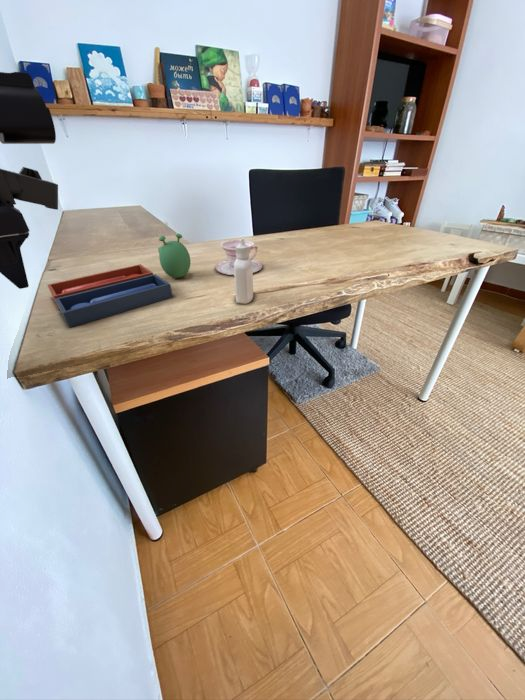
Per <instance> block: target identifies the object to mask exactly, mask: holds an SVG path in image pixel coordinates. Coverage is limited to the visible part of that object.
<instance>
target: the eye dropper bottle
mask: <svg viewBox="0 0 525 700" xmlns="http://www.w3.org/2000/svg"><path fill="white" fill-rule="evenodd" d="M239 240H240V243H239V245H237V246H236V257H237V259H236V260H235V262H234V275H233V276H234V291H235V301H236V303H237V304H245V305H246V304H249V303H250V302H251V301H252V300H253V298H254V273H253V269H252V260H251V257H250V253H249V246H248V245H246V244H245V242H244V240H245V239H244V237H243V238H239Z"/></svg>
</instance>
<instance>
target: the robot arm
mask: <svg viewBox="0 0 525 700" xmlns="http://www.w3.org/2000/svg"><path fill="white" fill-rule="evenodd" d="M56 141H57V134H56V128H55V124H54V120H53V116H52V113H51V111H50V108H49V107H48V106H47V105H46V102H45V100H44V98H43V96H42V94H41V93H40V91H39V90H38V88H37V87H36V86H35V84H34V81H33V78H32V76H31V74H29V72H23V71H13V72H4V71H0V143H1V144H2V145H20V144H21V145H23V144H24V145H27V144H28V145H37V144H41V145H43V144H45V145H49V144H50V145H53V144H55V143H56ZM16 201H21V202H25V203H29V204H30V203H31V204H35V205H40V206H44V207H45V208H46V209H51V210H56V211H57V210H59V184H57V183H56V182H52V181H49V180H45V179H43V178H42V176H41V174H40V173H39V171H38V170H37V169H32V168H30V167H25V166H22V167H21V169H20V171H18V172H15V171H12V170H7V169H3V168H0V274H1V275H2V276H4V277H5V278H6V279H7V280H8V281H9V282H10V283H12V284H13V285H14V286H15V287H16V288H17V289H19V290H23V289H26V288H29V281H28V276H27V273H26V268H25V263H24V260H23V255H22V250H21V248H22V245H24V242H25V241H26V239H28V238H29V236H30V228H29V226H28V224H27V222H26V219H25V217H24V215H23V213H22V212H21V211H20V209H18V208H17V207H15V206H16V205H17V202H16Z"/></svg>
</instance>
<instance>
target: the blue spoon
mask: <svg viewBox="0 0 525 700" xmlns="http://www.w3.org/2000/svg"><path fill="white" fill-rule="evenodd" d="M154 287H157V285H156V284H149V285H145V286H141V287H137V288H133V289H129V290H126V291H122V292H118V293H114V294H110V295H106V296H103V297H99V298H95V299H92V300H91V301H90V303H80V304H76V305H74V306H72V307H71V309H70V310H72V309H75V308H79V307H83V306H87V305H90V304H94V303H98V302H101V301H105V300H109V299H113V298H116V297H120V296H124V295H127V294H131V293H135V292H139V291H142V290H146V289H150V288H154Z"/></svg>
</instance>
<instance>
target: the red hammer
mask: <svg viewBox="0 0 525 700" xmlns="http://www.w3.org/2000/svg"><path fill="white" fill-rule="evenodd" d="M137 275H141V274H133V275H129V276H127V277H126V276H119V277H115V278H111V279H106V280H102V281H98V282H94V283H89V284H85V285H81V286H77V287H72V288H68V289H64V290H63V291H62V292H61V294H62V293H66V292H70V291H74V290H79V289H83V288H87V287H91V286H95V285H99V284H104V283H108V282H112V281H116V280H120V279H124V278H129V277H133V276H137Z"/></svg>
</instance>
